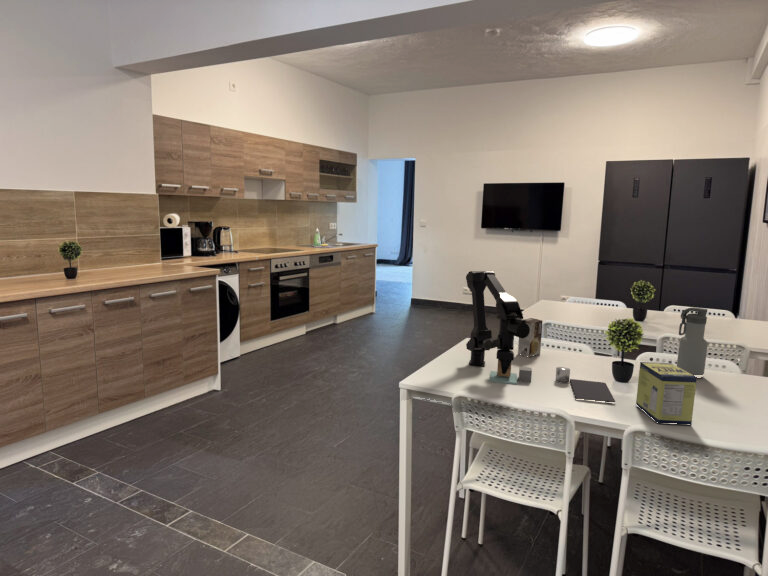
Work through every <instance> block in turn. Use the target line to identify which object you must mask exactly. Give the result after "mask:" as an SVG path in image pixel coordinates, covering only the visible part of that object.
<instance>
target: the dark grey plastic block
mask: <svg viewBox="0 0 768 576" xmlns="http://www.w3.org/2000/svg"><path fill="white" fill-rule="evenodd" d="M518 370H519V371H518V381H519V382H524V383H525V382H526V383H532V375H533V374H532V373H533V369H532V367H529V366H528V367H527V366H519V368H518Z"/></svg>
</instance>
